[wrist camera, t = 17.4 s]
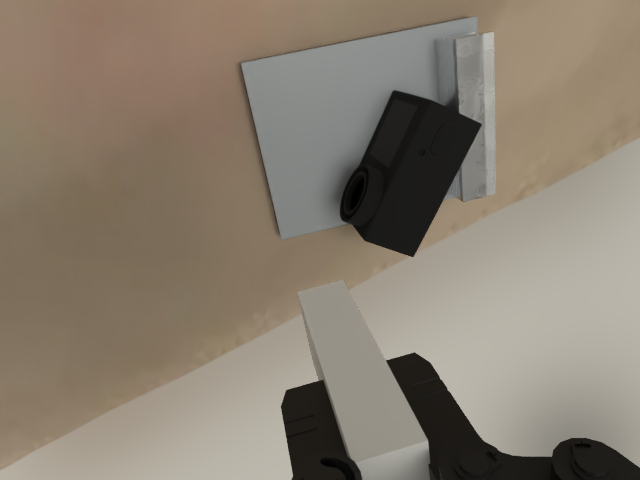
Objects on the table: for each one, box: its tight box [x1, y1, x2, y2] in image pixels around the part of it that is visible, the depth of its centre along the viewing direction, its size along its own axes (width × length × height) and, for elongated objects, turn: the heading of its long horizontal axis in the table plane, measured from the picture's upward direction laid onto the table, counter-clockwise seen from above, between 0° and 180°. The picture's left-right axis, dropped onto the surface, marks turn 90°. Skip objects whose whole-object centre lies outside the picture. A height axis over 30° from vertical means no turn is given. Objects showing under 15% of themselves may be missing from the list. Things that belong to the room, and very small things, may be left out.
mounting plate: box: [240, 16, 478, 240], centre depth 37 cm, size 18×14×2 cm
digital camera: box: [340, 90, 482, 257], centre depth 34 cm, size 10×5×7 cm, turn 157°
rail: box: [434, 32, 496, 202], centre depth 36 cm, size 3×12×4 cm, turn 10°
